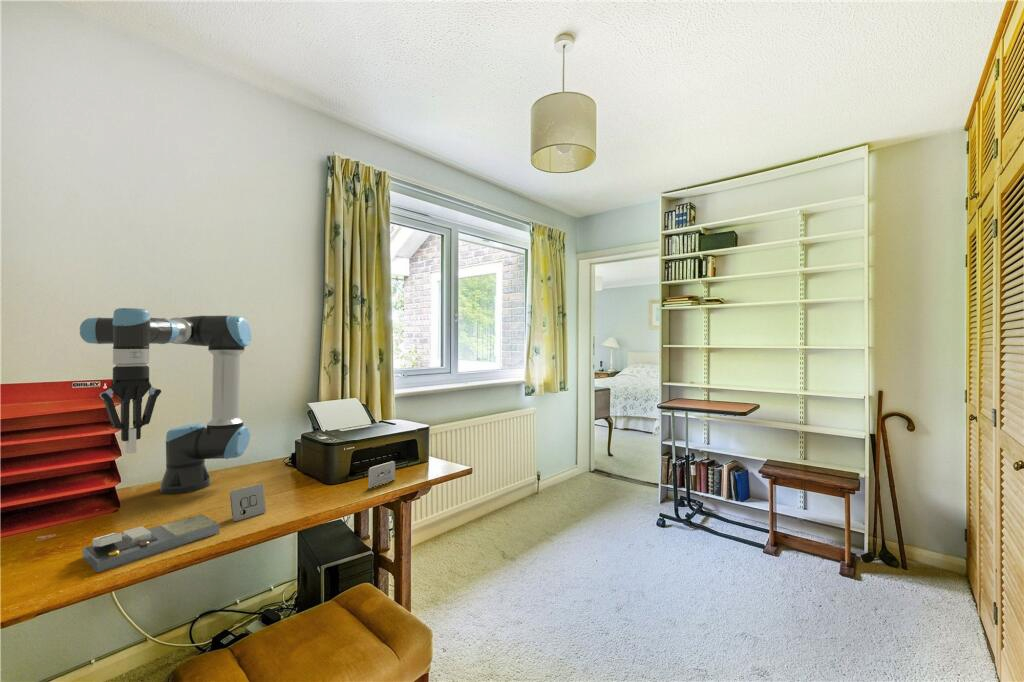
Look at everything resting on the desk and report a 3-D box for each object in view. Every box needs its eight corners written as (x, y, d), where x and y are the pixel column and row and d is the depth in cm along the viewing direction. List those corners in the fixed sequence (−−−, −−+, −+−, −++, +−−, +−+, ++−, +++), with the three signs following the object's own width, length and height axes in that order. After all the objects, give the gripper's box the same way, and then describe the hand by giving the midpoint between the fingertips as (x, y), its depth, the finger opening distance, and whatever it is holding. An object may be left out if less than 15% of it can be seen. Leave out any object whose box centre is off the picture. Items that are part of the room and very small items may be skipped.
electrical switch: (233, 522, 133) (232, 491, 134) (227, 520, 136) (226, 489, 137) (266, 513, 140) (265, 483, 141) (259, 510, 144) (258, 482, 144)
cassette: (392, 479, 174) (392, 460, 174) (396, 480, 173) (396, 461, 173) (367, 488, 164) (367, 467, 164) (370, 489, 163) (370, 468, 163)
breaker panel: (82, 557, 112) (82, 540, 112) (200, 522, 133) (200, 507, 133) (97, 572, 104) (97, 554, 104) (219, 533, 126) (219, 517, 126)
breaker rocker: (93, 546, 112) (92, 538, 112) (113, 540, 115) (113, 532, 115) (100, 546, 108) (100, 538, 108) (122, 540, 111) (121, 532, 111)
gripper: (103, 366, 112) (103, 459, 111) (165, 364, 122) (165, 449, 122) (94, 365, 116) (94, 455, 116) (155, 364, 127) (155, 446, 126)
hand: (130, 452), depth 119 cm, fingers closed
